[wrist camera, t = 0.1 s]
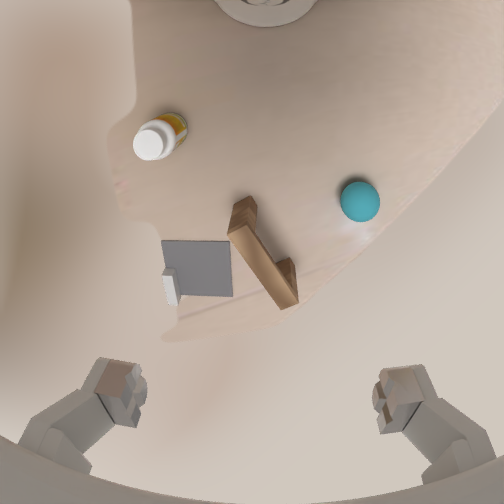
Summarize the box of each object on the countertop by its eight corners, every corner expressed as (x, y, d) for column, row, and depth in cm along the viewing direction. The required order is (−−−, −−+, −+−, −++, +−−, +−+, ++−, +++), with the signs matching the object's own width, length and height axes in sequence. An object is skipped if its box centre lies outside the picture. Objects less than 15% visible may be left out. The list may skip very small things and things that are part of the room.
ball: (338, 175, 45) (347, 189, 40) (375, 177, 44) (388, 192, 39) (335, 210, 48) (342, 228, 43) (370, 212, 48) (381, 230, 43)
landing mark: (161, 240, 53) (160, 241, 52) (229, 241, 52) (229, 241, 52) (171, 293, 59) (171, 294, 59) (232, 296, 58) (232, 296, 58)
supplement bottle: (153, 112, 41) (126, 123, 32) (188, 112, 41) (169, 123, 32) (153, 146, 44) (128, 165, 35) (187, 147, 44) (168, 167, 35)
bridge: (250, 195, 47) (246, 224, 39) (294, 265, 54) (298, 303, 46) (234, 204, 48) (226, 234, 40) (279, 272, 55) (280, 310, 47)
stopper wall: (165, 267, 56) (161, 275, 54) (175, 267, 56) (172, 275, 53) (171, 296, 59) (168, 304, 57) (181, 296, 59) (178, 305, 57)
